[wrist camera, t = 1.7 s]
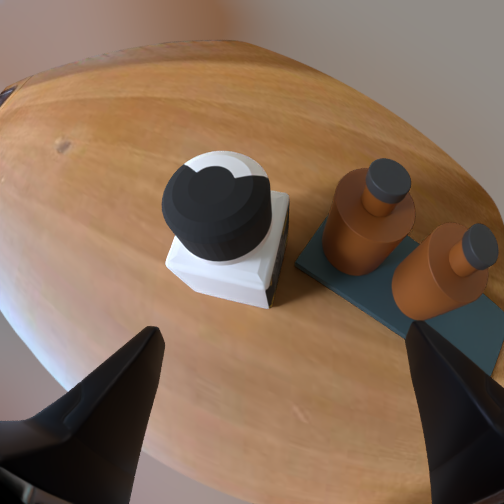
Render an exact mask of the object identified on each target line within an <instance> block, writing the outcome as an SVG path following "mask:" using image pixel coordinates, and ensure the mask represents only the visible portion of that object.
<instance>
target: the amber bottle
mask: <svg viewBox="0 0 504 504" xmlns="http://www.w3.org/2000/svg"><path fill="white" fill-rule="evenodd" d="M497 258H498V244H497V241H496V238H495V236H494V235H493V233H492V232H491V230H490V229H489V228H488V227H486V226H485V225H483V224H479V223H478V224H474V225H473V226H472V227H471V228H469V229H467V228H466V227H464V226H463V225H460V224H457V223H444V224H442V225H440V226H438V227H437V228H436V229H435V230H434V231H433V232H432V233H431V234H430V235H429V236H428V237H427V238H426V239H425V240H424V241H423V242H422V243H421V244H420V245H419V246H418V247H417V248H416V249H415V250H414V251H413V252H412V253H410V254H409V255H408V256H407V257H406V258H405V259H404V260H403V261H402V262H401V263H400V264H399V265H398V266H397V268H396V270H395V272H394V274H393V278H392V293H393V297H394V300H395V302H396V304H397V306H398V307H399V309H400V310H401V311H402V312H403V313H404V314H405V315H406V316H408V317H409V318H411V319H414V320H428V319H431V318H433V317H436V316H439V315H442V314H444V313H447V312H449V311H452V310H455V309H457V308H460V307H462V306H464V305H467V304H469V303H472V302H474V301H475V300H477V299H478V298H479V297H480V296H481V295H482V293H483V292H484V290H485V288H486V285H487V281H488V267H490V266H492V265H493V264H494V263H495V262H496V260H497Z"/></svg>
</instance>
